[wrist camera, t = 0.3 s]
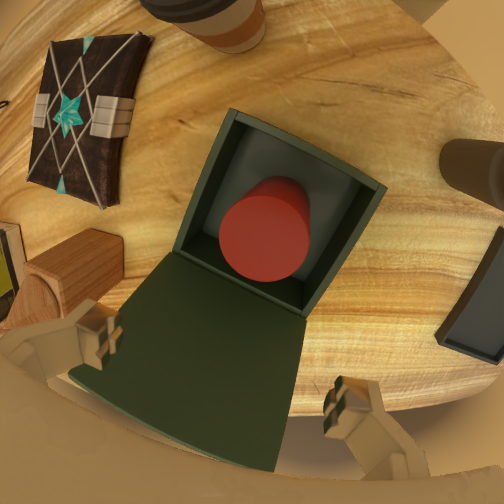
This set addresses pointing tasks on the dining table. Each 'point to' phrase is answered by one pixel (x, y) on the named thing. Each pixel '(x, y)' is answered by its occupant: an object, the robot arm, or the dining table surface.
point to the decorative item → (67, 277)
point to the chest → (250, 174)
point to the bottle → (475, 169)
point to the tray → (480, 310)
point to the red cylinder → (267, 230)
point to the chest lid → (203, 365)
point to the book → (85, 114)
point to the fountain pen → (3, 103)
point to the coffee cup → (214, 21)
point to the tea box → (10, 266)
